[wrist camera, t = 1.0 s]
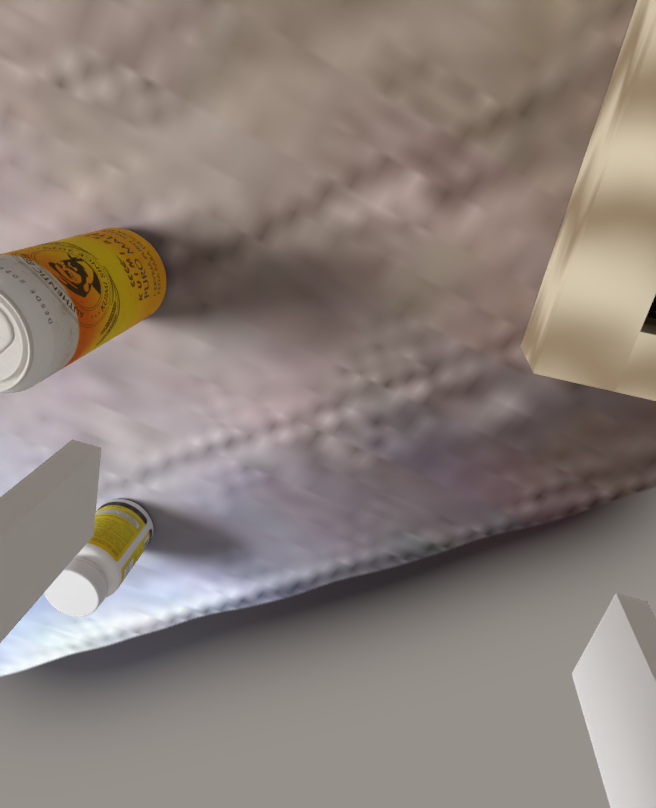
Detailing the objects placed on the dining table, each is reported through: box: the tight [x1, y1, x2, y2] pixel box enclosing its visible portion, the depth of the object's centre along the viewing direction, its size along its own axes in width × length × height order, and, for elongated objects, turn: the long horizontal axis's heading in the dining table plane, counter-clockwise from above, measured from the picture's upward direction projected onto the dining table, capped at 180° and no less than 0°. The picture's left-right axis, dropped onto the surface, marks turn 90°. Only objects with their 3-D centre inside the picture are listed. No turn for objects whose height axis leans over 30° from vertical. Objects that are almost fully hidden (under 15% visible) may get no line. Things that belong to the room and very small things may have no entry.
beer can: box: [0, 228, 166, 393], centre depth 33 cm, size 6×6×15 cm
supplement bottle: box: [44, 499, 154, 617], centre depth 44 cm, size 5×5×8 cm
